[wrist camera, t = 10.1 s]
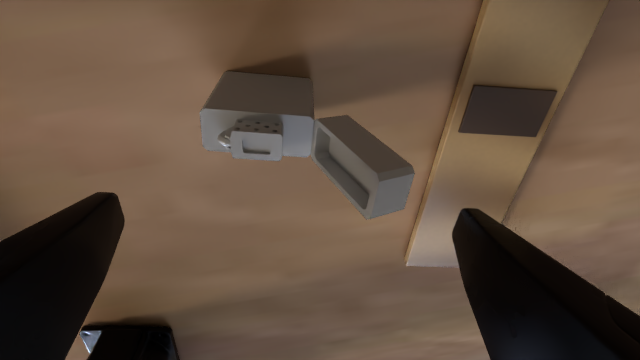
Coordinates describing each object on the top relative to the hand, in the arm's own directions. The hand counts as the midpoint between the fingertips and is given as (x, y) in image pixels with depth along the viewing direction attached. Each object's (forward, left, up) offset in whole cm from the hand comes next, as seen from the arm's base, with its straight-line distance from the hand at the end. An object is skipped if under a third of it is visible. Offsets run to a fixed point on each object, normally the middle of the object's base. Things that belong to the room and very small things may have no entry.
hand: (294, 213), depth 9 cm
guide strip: (0, -10, -9) cm, 13 cm away
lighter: (0, 0, -9) cm, 9 cm away
